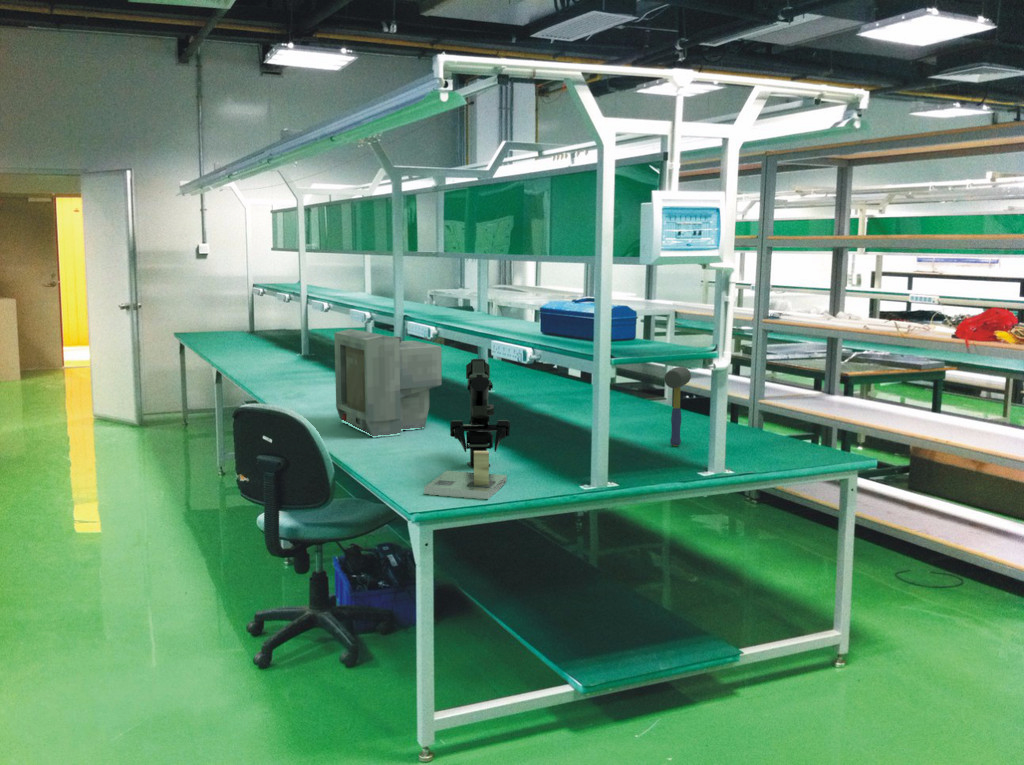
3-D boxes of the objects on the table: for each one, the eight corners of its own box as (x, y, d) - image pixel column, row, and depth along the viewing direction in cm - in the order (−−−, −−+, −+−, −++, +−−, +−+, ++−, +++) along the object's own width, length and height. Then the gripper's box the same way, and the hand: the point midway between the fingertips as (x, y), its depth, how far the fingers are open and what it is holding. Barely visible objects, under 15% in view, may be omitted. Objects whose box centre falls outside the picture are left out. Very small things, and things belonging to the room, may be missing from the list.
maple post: (473, 481, 264) (473, 450, 263) (488, 481, 264) (488, 450, 263) (474, 485, 260) (474, 454, 258) (488, 484, 260) (488, 454, 259)
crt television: (335, 423, 369) (333, 329, 363) (414, 415, 388) (413, 326, 382) (369, 439, 336) (367, 337, 330) (453, 430, 355) (452, 333, 349)
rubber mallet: (671, 441, 335) (673, 365, 331) (689, 444, 332) (692, 366, 327) (660, 448, 324) (663, 368, 320) (679, 450, 321) (682, 370, 316)
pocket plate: (446, 478, 279) (446, 469, 278) (506, 482, 273) (506, 474, 273) (424, 494, 259) (424, 485, 259) (488, 499, 254) (488, 490, 254)
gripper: (450, 395, 270) (450, 437, 261) (509, 394, 272) (511, 436, 262) (450, 415, 279) (450, 456, 270) (508, 414, 281) (510, 456, 271)
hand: (480, 451), depth 268 cm, fingers open, 9 cm apart
